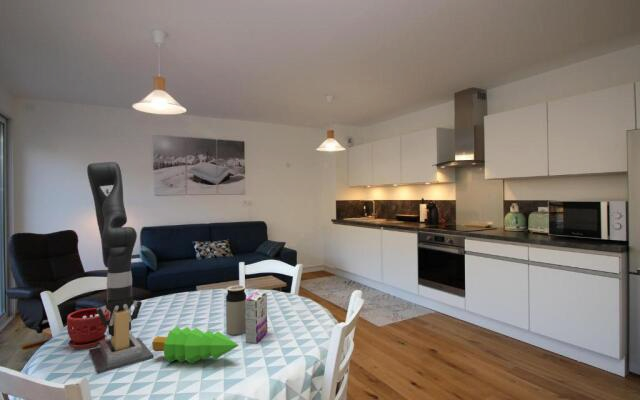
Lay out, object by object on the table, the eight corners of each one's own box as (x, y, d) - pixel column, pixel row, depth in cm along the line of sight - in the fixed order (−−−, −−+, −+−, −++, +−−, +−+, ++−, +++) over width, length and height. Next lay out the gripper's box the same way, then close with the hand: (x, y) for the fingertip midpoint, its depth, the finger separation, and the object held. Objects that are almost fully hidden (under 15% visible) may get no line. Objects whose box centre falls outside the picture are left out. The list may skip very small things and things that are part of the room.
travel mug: (250, 329, 139) (249, 286, 139) (238, 336, 131) (237, 290, 132) (235, 326, 142) (234, 284, 142) (222, 333, 135) (221, 288, 135)
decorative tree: (160, 319, 117) (241, 319, 112) (169, 344, 121) (248, 346, 116) (140, 344, 107) (228, 346, 102) (151, 370, 111) (236, 373, 106)
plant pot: (63, 354, 117) (63, 320, 117) (71, 341, 129) (70, 310, 129) (107, 347, 123) (107, 314, 123) (110, 334, 135) (110, 305, 135)
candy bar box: (256, 331, 136) (255, 291, 137) (267, 332, 135) (267, 292, 136) (244, 343, 125) (244, 299, 126) (257, 344, 124) (256, 299, 125)
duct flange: (88, 352, 119) (88, 341, 119) (138, 340, 129) (138, 329, 129) (97, 373, 104) (97, 361, 104) (153, 357, 114) (153, 346, 114)
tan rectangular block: (115, 350, 112) (115, 314, 112) (110, 342, 118) (110, 308, 119) (129, 346, 114) (129, 311, 114) (123, 339, 121) (123, 305, 121)
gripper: (97, 290, 109) (97, 342, 109) (144, 282, 118) (145, 331, 118) (93, 286, 115) (93, 336, 115) (139, 279, 124) (139, 325, 124)
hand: (120, 333), depth 116 cm, fingers closed on tan rectangular block, 4 cm apart
